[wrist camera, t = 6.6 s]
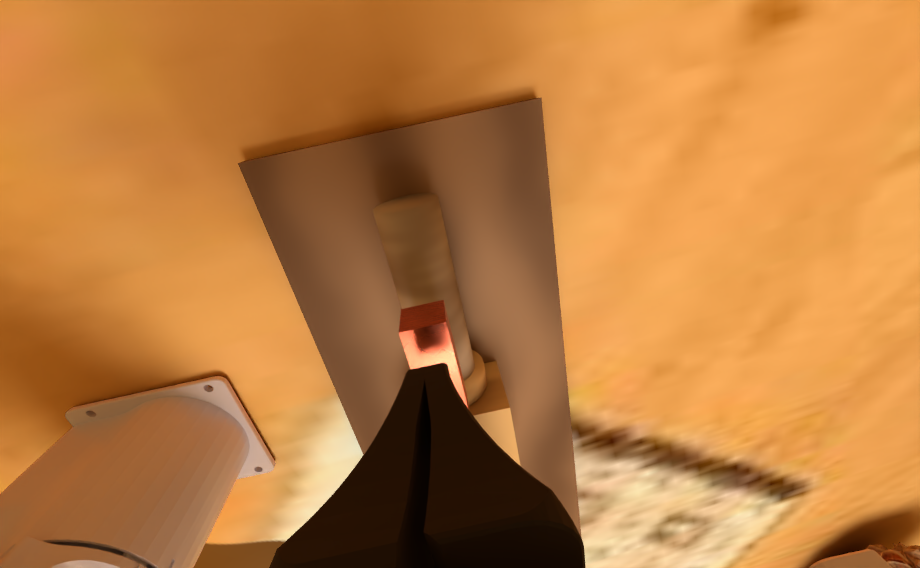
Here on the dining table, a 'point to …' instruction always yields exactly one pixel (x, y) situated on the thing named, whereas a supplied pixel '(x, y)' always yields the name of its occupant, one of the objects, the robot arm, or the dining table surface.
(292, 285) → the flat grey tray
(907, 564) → the pine cone
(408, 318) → the valve lever
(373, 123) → the dining table surface
